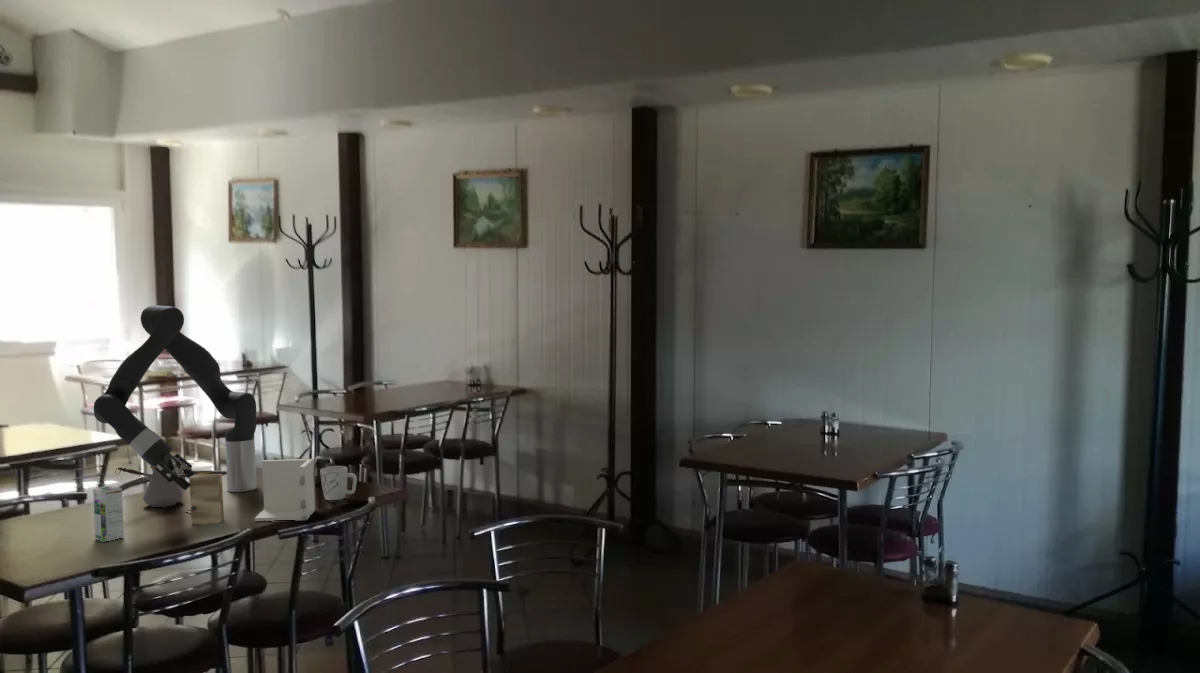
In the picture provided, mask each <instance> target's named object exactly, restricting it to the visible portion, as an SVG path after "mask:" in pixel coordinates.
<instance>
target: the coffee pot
mask: <svg viewBox="0 0 1200 673" xmlns="http://www.w3.org/2000/svg"><path fill="white" fill-rule="evenodd" d="M149 466H150V468H151V470H152V474H151V473H147V472H146V473H145V472H142V471H138V470H135V469H130V468H128V469H127V468H125V467H124V468H123V467H117V468H116V469H115V470H114V473H115V474H116V475H120V474H121V471H122V472H123V473H125V472H126V473H129V474H132V475H138V476H144V477H147V478H150V480H149V482H148V484H147V486H146V488H145V491H144V495H143V497H142V498H143V501H144V503H145V504H147V505H148V506H149V507H150V506H151V507H150V508H153V507H162V508H168V507H167V506H169V507H173V506H176V505H177V504H178V502H179V501H180V500H181V499H182V498H183V495H184V494H183V491H182V488H181V487H180V486H179V485H178V484H177V483H175V482H172V481H171V482H168V481H167V480H166V479H165V478H164V477H163V476H162V475H161V474H160V473H159V472H157V471H156V470H155V467H156V466H155V467H152V466H151V465H149ZM117 470H118V473H117ZM176 503H177V504H176ZM172 505H173V506H172Z"/></svg>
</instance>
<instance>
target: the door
mask: <svg viewBox="0 0 1200 673" xmlns="http://www.w3.org/2000/svg"><path fill="white" fill-rule="evenodd" d="M188 481H189V482H188V483H190V486H189V500H190V502H189V503H190V510H191V514H190V517H191V518H190V520H191V524H190V525H192V524H199V525H209V524H208V523H220V522H221V521H222V522H223V521H224V520H225V518H224V517H225V516H224V514H225V513H224V512H225V511H224V494H223V493H224V490H223V474H222V473H213V474H200V475H193V476H191V477H190V478H188ZM222 522H221V523H222ZM221 523H220V524H221Z"/></svg>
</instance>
